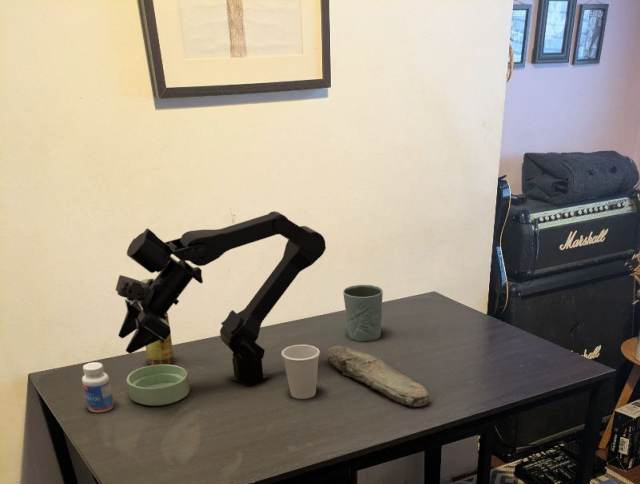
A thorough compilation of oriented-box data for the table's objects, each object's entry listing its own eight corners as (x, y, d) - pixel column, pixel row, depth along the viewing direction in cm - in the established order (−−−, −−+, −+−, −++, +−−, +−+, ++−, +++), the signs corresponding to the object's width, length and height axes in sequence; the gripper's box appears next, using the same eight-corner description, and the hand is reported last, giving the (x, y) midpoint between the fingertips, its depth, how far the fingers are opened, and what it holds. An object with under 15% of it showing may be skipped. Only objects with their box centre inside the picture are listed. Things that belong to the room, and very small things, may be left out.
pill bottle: (83, 410, 166) (73, 368, 161) (99, 400, 170) (90, 359, 165) (103, 414, 164) (94, 372, 159) (119, 404, 169) (111, 362, 163)
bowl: (202, 392, 174) (199, 373, 171) (156, 413, 165) (152, 393, 163) (164, 377, 180) (161, 359, 178) (118, 396, 172) (114, 378, 169)
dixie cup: (305, 382, 179) (303, 341, 173) (329, 393, 174) (327, 351, 168) (276, 393, 174) (273, 351, 168) (300, 405, 169) (297, 362, 163)
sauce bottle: (168, 368, 185) (154, 286, 173) (143, 366, 186) (128, 284, 174) (179, 358, 190) (167, 278, 179) (155, 356, 191) (142, 276, 180)
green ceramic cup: (382, 342, 199) (382, 297, 192) (343, 342, 199) (342, 296, 192) (382, 328, 207) (383, 284, 200) (345, 328, 207) (344, 284, 201)
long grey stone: (405, 419, 166) (439, 408, 171) (407, 397, 163) (442, 387, 168) (314, 360, 188) (347, 352, 193) (314, 339, 185) (348, 332, 190)
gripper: (127, 249, 162) (84, 308, 164) (144, 274, 148) (96, 338, 150) (170, 282, 169) (128, 337, 171) (190, 308, 155) (144, 368, 157)
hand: (123, 344), depth 162 cm, fingers open, 9 cm apart
